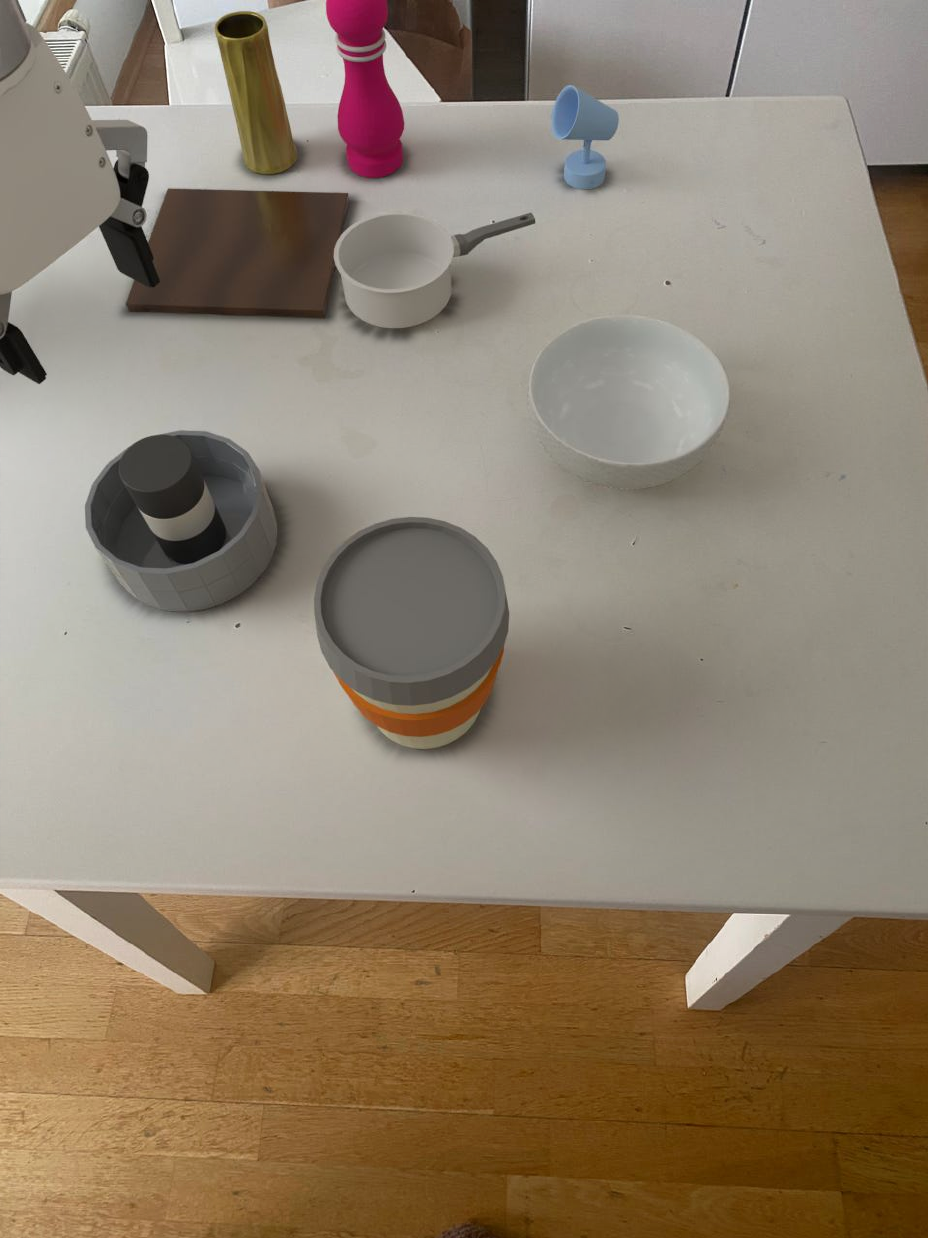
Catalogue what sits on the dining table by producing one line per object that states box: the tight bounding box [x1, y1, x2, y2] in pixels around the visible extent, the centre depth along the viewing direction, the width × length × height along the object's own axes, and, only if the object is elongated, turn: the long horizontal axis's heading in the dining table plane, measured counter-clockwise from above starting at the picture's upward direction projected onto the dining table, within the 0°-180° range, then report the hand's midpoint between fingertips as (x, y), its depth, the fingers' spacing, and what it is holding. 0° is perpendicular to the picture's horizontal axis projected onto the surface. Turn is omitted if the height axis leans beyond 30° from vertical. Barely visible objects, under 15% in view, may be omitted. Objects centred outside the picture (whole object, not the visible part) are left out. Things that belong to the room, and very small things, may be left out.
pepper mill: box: [325, 0, 405, 179], centre depth 92 cm, size 7×7×20 cm
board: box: [125, 187, 350, 319], centre depth 93 cm, size 20×18×1 cm
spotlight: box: [550, 84, 620, 190], centre depth 94 cm, size 5×10×7 cm
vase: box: [214, 10, 298, 175], centre depth 95 cm, size 6×6×14 cm
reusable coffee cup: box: [313, 516, 510, 750], centre depth 62 cm, size 13×13×15 cm
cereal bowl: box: [527, 314, 731, 490], centre depth 77 cm, size 17×17×7 cm
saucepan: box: [334, 211, 536, 329], centre depth 88 cm, size 12×20×6 cm, turn 109°
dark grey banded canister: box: [119, 434, 226, 564], centre depth 72 cm, size 6×6×10 cm
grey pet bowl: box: [84, 429, 278, 613], centre depth 74 cm, size 14×14×6 cm
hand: (85, 323), depth 56 cm, fingers open, 9 cm apart
